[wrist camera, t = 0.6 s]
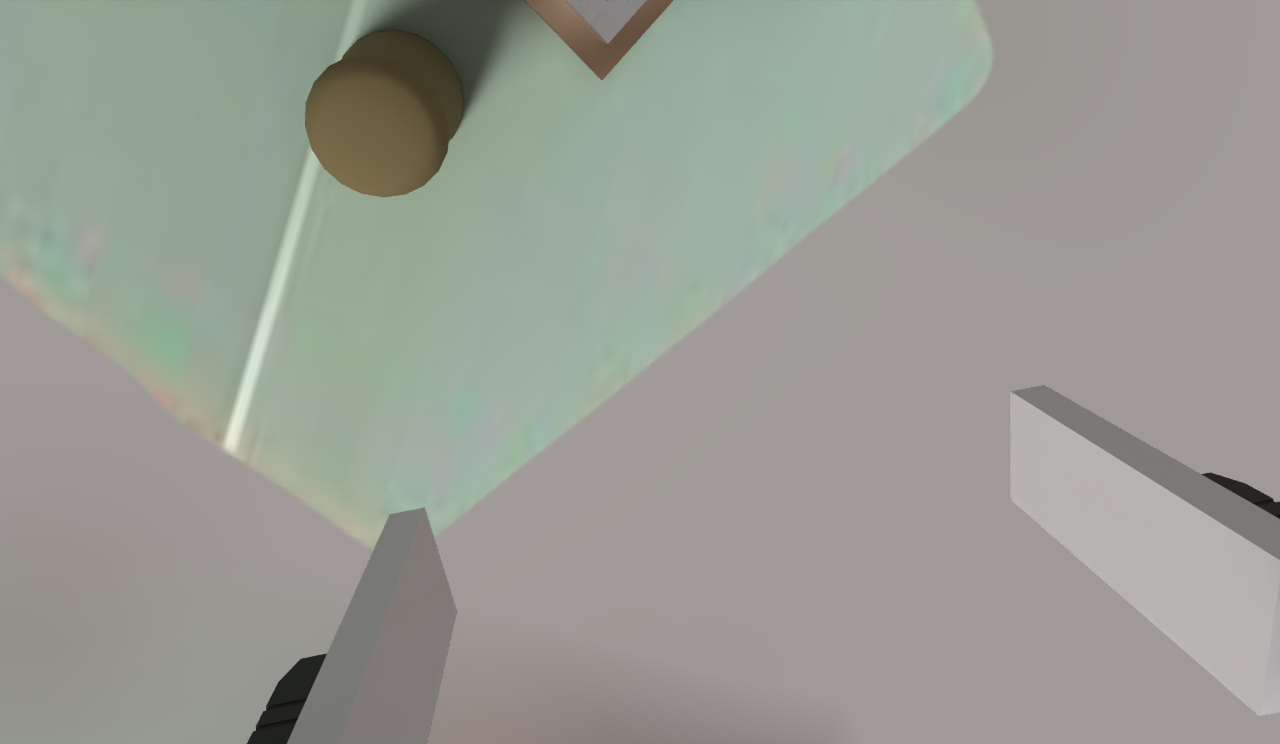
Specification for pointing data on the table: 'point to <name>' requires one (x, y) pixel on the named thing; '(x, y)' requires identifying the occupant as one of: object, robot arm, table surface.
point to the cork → (385, 113)
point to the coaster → (599, 26)
